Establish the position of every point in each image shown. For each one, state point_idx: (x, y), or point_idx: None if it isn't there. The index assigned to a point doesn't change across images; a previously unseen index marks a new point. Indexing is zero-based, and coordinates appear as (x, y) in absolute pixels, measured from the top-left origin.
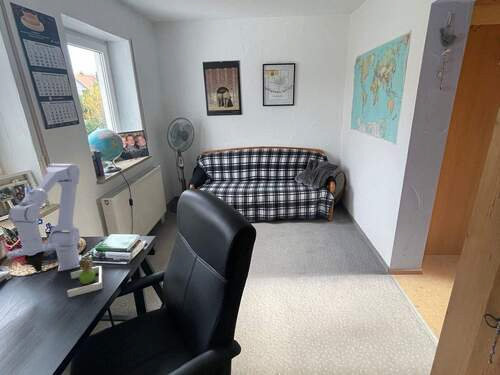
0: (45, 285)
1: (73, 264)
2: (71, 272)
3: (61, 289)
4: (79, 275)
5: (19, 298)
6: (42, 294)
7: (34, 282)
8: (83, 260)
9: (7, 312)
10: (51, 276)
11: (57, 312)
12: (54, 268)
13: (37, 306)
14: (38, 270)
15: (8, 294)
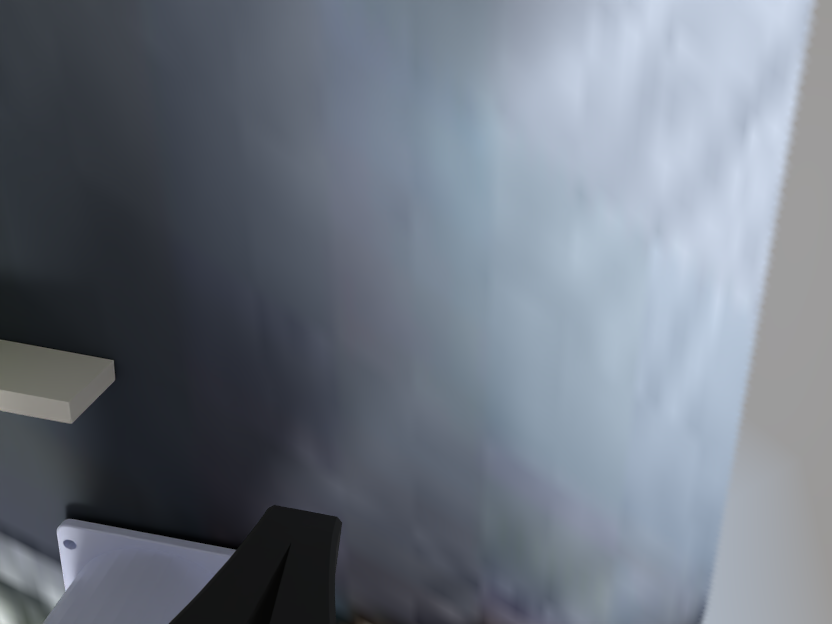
0: (366, 401)
1: (102, 568)
2: (61, 416)
3: (196, 216)
4: (20, 354)
5: (613, 322)
6: (391, 246)
7: (465, 513)
8: None
9: (762, 108)
10: None
11: None
12: None
13: (443, 3)
14: (297, 525)
15: (697, 460)
